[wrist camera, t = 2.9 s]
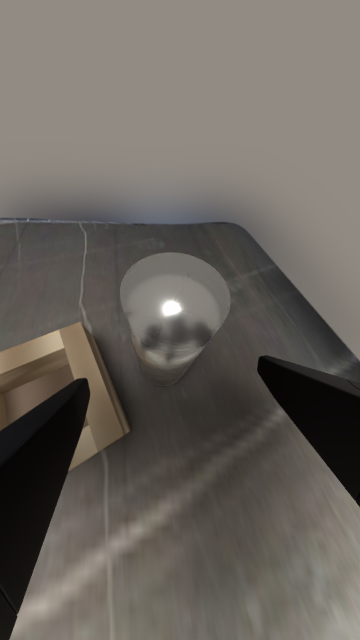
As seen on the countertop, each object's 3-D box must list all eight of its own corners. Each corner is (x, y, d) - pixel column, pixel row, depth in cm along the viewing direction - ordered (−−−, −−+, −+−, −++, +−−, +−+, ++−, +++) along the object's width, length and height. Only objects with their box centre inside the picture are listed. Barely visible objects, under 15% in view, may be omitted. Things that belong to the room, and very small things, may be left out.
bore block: (0, 515, 12) (-72, 562, 8) (-15, 387, 16) (-70, 378, 12) (131, 429, 16) (124, 435, 12) (95, 340, 19) (80, 321, 15)
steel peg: (153, 396, 17) (152, 365, 6) (133, 354, 19) (103, 269, 8) (194, 372, 19) (252, 311, 8) (172, 335, 21) (193, 242, 10)
